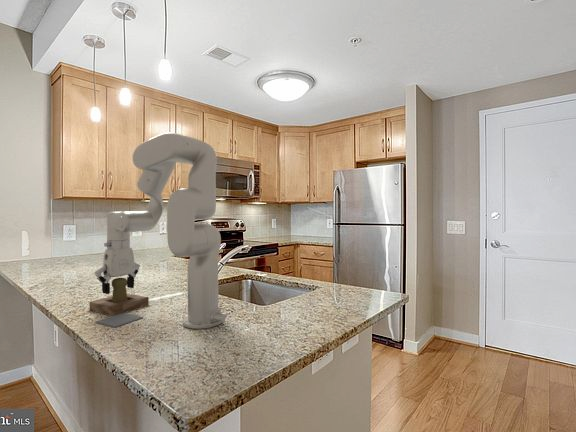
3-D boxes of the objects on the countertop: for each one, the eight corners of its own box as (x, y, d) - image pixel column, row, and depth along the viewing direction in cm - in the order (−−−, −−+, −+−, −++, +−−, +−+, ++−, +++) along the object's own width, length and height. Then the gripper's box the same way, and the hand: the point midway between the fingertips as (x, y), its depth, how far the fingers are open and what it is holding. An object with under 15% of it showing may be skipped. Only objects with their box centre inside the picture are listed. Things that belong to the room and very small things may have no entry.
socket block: (148, 305, 122) (148, 297, 122) (113, 315, 110) (113, 307, 110) (124, 300, 129) (124, 293, 129) (89, 310, 116) (89, 302, 116)
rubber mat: (143, 318, 107) (143, 316, 107) (115, 327, 99) (115, 326, 99) (123, 313, 112) (123, 312, 112) (95, 322, 103) (95, 321, 103)
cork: (112, 306, 121) (112, 277, 121) (130, 304, 123) (129, 276, 123) (108, 310, 116) (108, 280, 115) (127, 309, 117) (126, 279, 117)
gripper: (102, 247, 110) (102, 297, 110) (145, 243, 125) (145, 286, 125) (88, 246, 113) (89, 294, 114) (132, 242, 128) (132, 284, 129)
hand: (118, 290), depth 119 cm, fingers open, 9 cm apart
